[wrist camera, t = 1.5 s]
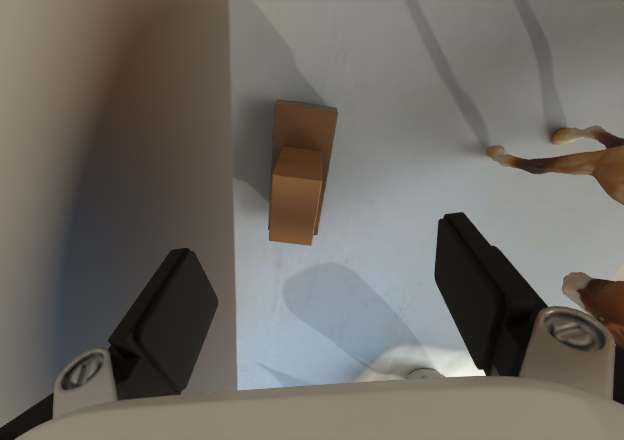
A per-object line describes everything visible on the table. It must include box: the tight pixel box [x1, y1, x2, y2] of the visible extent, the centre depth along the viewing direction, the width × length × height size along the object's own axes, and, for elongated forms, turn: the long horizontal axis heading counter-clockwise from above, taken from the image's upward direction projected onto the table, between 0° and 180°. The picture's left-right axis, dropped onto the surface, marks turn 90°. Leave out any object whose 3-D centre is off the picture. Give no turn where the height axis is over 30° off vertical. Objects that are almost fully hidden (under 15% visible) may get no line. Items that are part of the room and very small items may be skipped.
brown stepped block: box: [268, 100, 338, 246], centre depth 26 cm, size 13×5×10 cm, turn 173°
